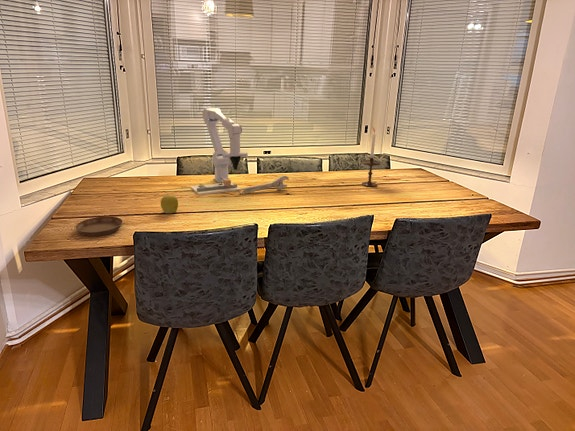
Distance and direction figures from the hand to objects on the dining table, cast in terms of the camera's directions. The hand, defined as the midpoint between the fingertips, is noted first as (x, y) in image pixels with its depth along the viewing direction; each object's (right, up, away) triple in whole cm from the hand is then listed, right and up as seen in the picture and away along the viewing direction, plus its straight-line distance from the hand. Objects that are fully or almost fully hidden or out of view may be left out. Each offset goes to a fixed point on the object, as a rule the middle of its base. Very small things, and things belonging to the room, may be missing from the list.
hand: (235, 169), depth 233 cm
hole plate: (-11, -12, -4) cm, 16 cm away
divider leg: (-6, -10, -2) cm, 11 cm away
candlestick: (+80, -8, +13) cm, 81 cm away
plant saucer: (-47, -33, -67) cm, 88 cm away
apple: (-25, -25, -44) cm, 56 cm away
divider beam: (-11, -12, -4) cm, 16 cm away
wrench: (+17, -13, -6) cm, 23 cm away
